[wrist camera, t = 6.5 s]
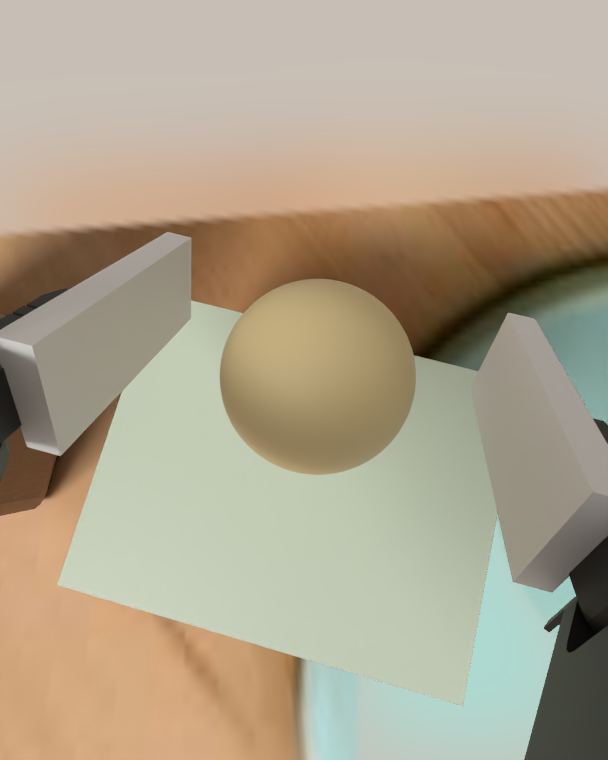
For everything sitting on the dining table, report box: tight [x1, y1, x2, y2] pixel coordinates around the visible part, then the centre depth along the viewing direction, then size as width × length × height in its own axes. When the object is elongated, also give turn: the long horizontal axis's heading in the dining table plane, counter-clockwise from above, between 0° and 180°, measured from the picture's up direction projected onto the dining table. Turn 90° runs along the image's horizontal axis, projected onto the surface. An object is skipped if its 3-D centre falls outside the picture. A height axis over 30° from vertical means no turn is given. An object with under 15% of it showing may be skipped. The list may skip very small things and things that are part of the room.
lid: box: [57, 279, 498, 706], centre depth 12 cm, size 14×11×9 cm
